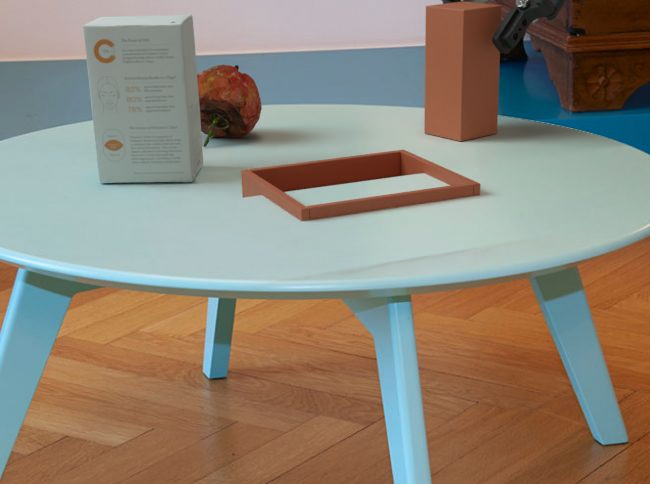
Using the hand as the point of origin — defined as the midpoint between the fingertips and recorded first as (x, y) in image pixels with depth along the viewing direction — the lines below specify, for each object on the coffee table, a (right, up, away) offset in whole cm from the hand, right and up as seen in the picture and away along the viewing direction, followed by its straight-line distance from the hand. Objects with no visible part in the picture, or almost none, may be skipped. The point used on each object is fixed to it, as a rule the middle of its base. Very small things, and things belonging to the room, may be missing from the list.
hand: (465, 43), depth 107 cm
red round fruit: (-23, -9, +3) cm, 25 cm away
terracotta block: (0, -8, +3) cm, 8 cm away
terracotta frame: (-11, -18, -21) cm, 29 cm away
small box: (-28, -14, -9) cm, 33 cm away
